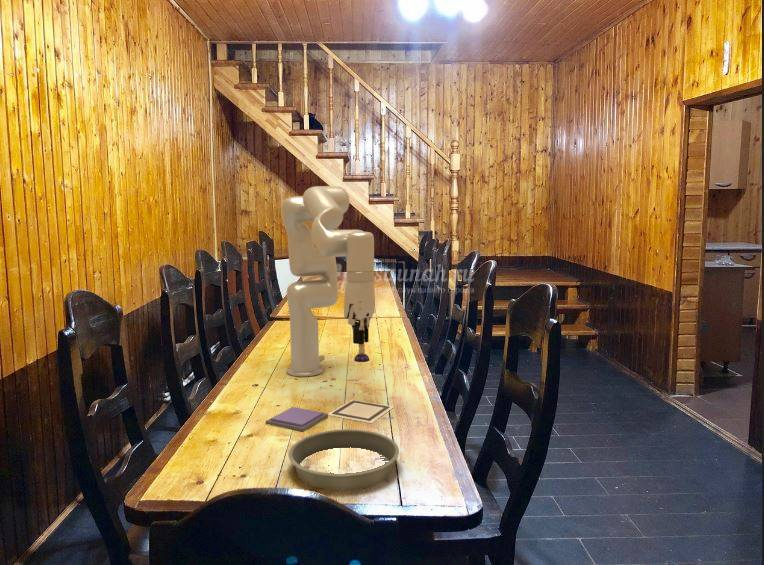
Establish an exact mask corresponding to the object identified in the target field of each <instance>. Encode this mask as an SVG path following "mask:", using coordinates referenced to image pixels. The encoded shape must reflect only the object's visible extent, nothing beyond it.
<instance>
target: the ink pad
mask: <svg viewBox="0 0 764 565" xmlns="http://www.w3.org/2000/svg"><path fill="white" fill-rule="evenodd" d="M328 417H329V415H328V413H323V412H321V411H316V410H312V409H306V408H301V407H295V406H291V407H290V408H288V409H286V410H284V411H282V412H281V413H278V414H276V415H274V416H273V417H271V418H269V419H266V421H265V425H268V424H270V425H269V426H273V425H274V426H273V427H278V426H279V427H278V428H283V427H284V428H283V429H287V428H288V430H293V431H298V432H304V433H305V431H307V430H308V429H310V428H312V427H313V426H315V425H317V424H319V423H320V422H322V421H324V420H325V419H326V418H328Z"/></svg>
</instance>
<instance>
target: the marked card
mask: <svg viewBox="0 0 764 565" xmlns="http://www.w3.org/2000/svg"><path fill="white" fill-rule="evenodd" d="M392 408H393V409H395V406H392V405H386V404H380V403H374V402H370V401H363V400H357V399H350V400H349V401H347V402H345V403H344V404H342V405H340V406H339V407H337V408H335V409H334V410H331V412H329V413H327V414H328V417H329V416H330V417H335V418H339V417H340V419H345V418H346V420H350V419H351V421H355V420H356V422H360V421H361V422H360V423H365V422H366V423H367V424H371V423H372V424H373V423H375V422H376V421H378V420H379V419H380V418H381V416H382V417H383V416H384V415H386V414H387V413H388V411H389V410H390V411H392V410H393V409H392ZM390 411H389V412H390ZM385 413H386V414H385ZM378 418H379V419H378Z"/></svg>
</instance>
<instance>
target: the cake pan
mask: <svg viewBox="0 0 764 565" xmlns="http://www.w3.org/2000/svg"><path fill="white" fill-rule="evenodd" d="M350 447H351V448H361V449H366V450H370V451H373V452H377V453H378V454H379V455H382V456H380V457H385V458H380V459H384V460H382V461H389V462H385V464H384V465H382V466H379V467H377V468H374V469H371V470H367V471H362V472H356V473H345V474H334V473H331V472H330V473H328V472H321V471H317V470H313V469H310V468H306V467H305V466H303V465H301V464H302V463H303V462H304V461H305V460H304V459H305V458H306V457H308V456H310V455H312V454H314V453H316V452H319V451H323V450H328V449H333V448H350ZM399 455H400V449H399V445H398V444H397V442H395V440H393V439H391V438H390V437H388V436H386V435H383V434H381V433H379V432H374V431H370V430H364V429H352V428H351V429H350V428H349V429H346V428H345V429H344V428H342V429H331V430H326V431H321V432H317V433H313V434H310V435H308V436H306V437H303V438H302V439H300V440H297V441H296V442H295V443H294V444H293V445H292V446H291V447H290V448H289V451H288V459H289V461H290V462H291V464H292V465H293V466H294V468H295V470H296V473H297V475H298V476H297V477H299V478H300V479H301V481H302V482H304V483H306V484H307V485H310V486H313V487H315V486H316V487H315V488H318V487H319V489H323V490H328V491H329V490H330V491H331V490H332V491H351V490H352V491H353V490H361V489H366V488H368V487H372V486H375V485H377V484H380V483H382V482H383V481H384V480H386V479H387V478H388V477H389V476H390V475H391V473H392V471H393V466H394V462H395V461H396V460H397V458H398V456H399ZM303 460H304V461H303ZM302 461H303V462H302ZM300 463H301V464H300ZM328 466H329V465H328Z"/></svg>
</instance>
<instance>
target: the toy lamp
mask: <svg viewBox="0 0 764 565" xmlns="http://www.w3.org/2000/svg"><path fill="white" fill-rule="evenodd" d="M366 316H369V313H367V314H366ZM357 322H358V323H359V321H357ZM362 330H364V319H363V329H362ZM364 336H365V335H364ZM365 343H366V342H365V339H364V344H358V348H359V349H358V353H357V354H356V355H355V356H354V358H353V361H355V362H356V363H367V362H369V361H370V356H369V355H368V354H366V349H365V348H366V346H365Z"/></svg>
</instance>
